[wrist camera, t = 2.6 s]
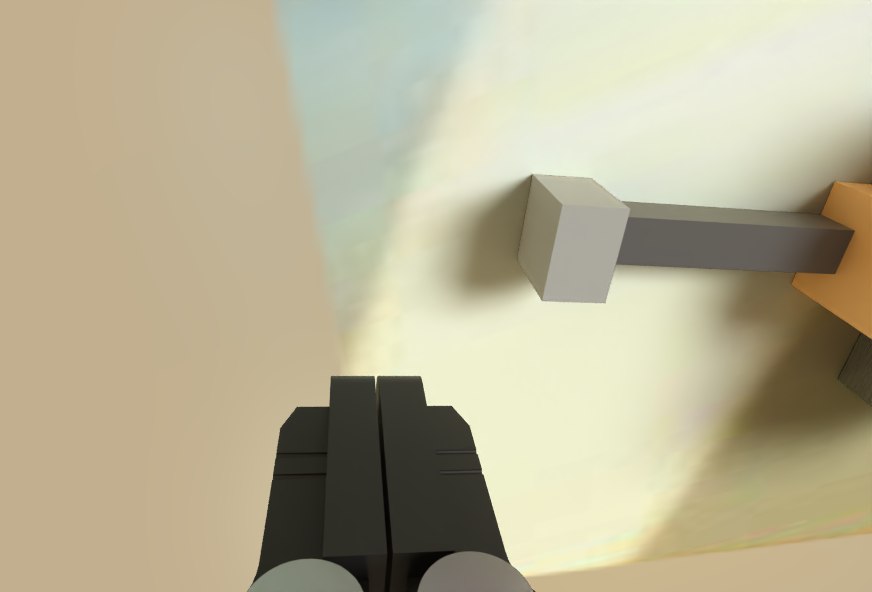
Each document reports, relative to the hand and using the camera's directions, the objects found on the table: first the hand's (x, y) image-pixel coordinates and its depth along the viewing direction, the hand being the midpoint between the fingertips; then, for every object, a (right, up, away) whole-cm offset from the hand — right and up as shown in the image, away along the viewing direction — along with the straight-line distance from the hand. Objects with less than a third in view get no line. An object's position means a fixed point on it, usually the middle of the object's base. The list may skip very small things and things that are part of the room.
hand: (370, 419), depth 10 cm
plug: (+12, +4, +11) cm, 17 cm away
